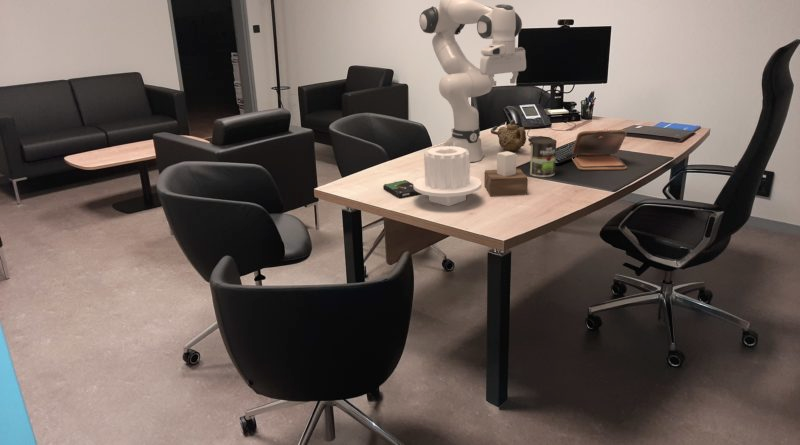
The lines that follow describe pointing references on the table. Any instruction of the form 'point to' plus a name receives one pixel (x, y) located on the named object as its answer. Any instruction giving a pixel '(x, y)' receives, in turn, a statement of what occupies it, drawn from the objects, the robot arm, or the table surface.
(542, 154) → the coffee can
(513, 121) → the teapot
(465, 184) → the ribbed cylinder on disc
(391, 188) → the disk drive
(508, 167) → the white block
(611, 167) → the case
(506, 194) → the walnut box
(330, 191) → the table surface
